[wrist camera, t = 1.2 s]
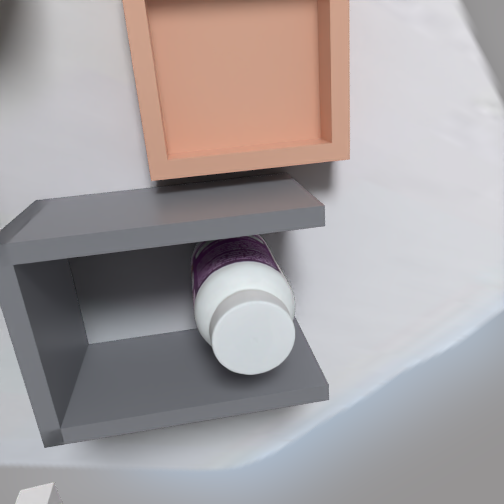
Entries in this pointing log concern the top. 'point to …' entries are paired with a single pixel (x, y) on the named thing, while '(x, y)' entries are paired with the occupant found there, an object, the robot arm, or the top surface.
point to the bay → (147, 347)
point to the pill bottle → (242, 303)
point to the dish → (240, 83)
